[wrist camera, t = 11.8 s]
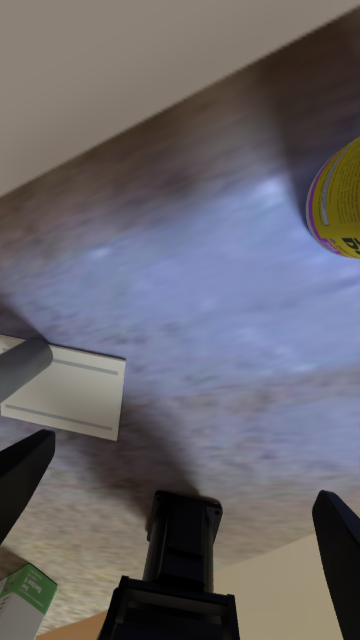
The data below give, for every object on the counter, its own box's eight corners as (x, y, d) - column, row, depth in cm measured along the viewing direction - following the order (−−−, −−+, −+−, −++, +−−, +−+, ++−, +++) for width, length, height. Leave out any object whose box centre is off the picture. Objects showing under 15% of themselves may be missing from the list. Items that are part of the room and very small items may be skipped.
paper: (117, 438, 24) (116, 441, 23) (3, 413, 24) (0, 415, 24) (126, 360, 21) (125, 362, 21) (-1, 334, 22) (-4, 335, 22)
